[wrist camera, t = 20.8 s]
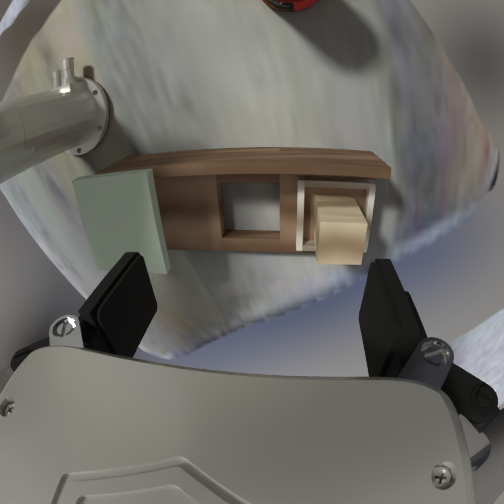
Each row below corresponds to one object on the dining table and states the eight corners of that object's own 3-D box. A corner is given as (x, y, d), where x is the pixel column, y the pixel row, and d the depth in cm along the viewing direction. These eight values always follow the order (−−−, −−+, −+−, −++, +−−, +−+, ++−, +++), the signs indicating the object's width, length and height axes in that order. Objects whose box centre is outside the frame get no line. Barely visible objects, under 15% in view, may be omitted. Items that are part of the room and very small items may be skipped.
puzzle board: (126, 157, 38) (94, 174, 31) (371, 151, 34) (391, 168, 27) (143, 240, 46) (119, 269, 39) (361, 245, 41) (373, 278, 34)
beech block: (314, 194, 36) (320, 221, 29) (353, 196, 35) (367, 223, 28) (313, 230, 38) (317, 263, 32) (349, 231, 38) (361, 264, 31)
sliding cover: (79, 177, 32) (72, 181, 30) (152, 168, 30) (146, 172, 29) (103, 263, 38) (97, 269, 37) (170, 267, 37) (166, 274, 36)
